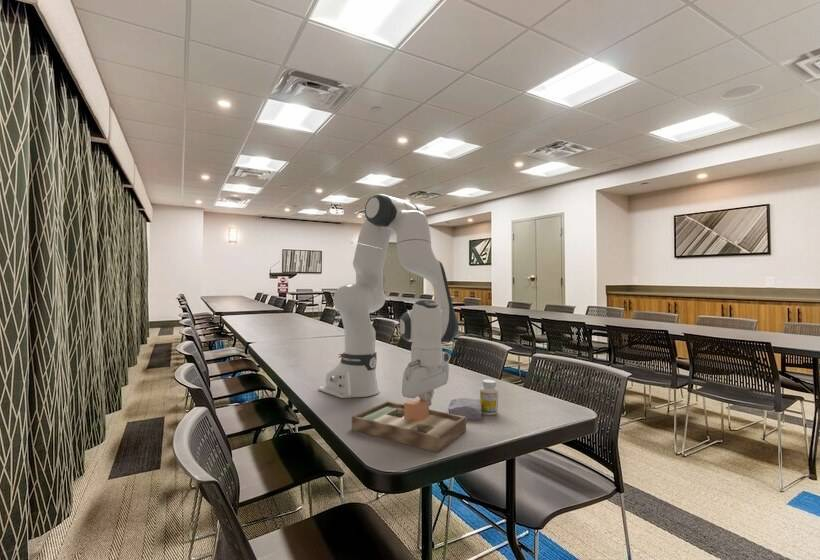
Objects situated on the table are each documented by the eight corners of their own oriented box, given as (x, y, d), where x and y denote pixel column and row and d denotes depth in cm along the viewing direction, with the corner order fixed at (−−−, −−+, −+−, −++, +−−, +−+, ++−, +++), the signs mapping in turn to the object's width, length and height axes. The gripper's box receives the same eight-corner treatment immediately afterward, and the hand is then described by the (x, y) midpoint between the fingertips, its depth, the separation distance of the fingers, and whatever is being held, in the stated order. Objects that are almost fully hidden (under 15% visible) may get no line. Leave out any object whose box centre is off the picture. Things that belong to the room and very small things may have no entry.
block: (404, 417, 104) (404, 402, 104) (413, 412, 108) (413, 398, 109) (419, 421, 102) (420, 406, 102) (428, 415, 106) (429, 401, 106)
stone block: (450, 426, 110) (484, 420, 110) (447, 409, 111) (481, 403, 110) (450, 414, 122) (481, 409, 121) (447, 399, 123) (478, 394, 122)
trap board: (351, 429, 101) (352, 416, 102) (387, 412, 116) (387, 401, 116) (437, 452, 88) (437, 437, 88) (466, 429, 102) (466, 417, 102)
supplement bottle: (492, 416, 113) (493, 384, 113) (476, 412, 116) (477, 381, 117) (500, 412, 117) (501, 380, 117) (485, 408, 121) (485, 378, 121)
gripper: (416, 365, 98) (415, 418, 98) (452, 353, 115) (452, 399, 115) (396, 362, 102) (395, 414, 102) (434, 351, 119) (434, 396, 119)
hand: (426, 406), depth 109 cm, fingers closed
